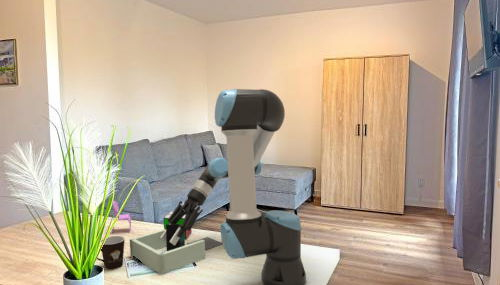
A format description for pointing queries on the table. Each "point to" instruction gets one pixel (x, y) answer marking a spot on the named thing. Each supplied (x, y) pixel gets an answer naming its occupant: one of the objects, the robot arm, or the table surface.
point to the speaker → (170, 233)
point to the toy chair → (121, 217)
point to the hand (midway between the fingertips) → (167, 241)
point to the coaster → (209, 243)
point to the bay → (168, 260)
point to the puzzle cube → (177, 223)
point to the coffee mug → (113, 252)
